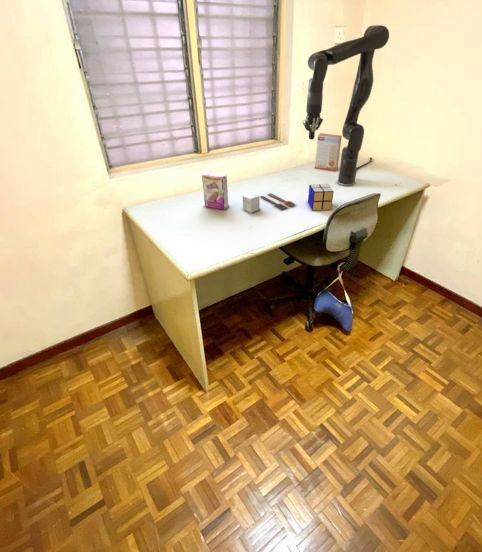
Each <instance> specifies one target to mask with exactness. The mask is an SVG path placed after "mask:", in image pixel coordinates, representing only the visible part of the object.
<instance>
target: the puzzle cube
mask: <svg viewBox="0 0 482 552" xmlns="http://www.w3.org/2000/svg"><path fill="white" fill-rule="evenodd" d="M333 200H334V190H333V188H332V187H331V186H330V184H329V183H313V184H312V183H311V184H309V185H308V197H307V204H308V205H309V207H310V210H311V211H331V210H332V208H333Z"/></svg>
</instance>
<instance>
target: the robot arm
mask: <svg viewBox="0 0 482 552" xmlns="http://www.w3.org/2000/svg"><path fill="white" fill-rule="evenodd" d="M389 39H390V30H389V28H387V26H385V25H382V24H372V25H369V26H368V27H366V29H365V31H364V33H363V36H361V37H358V38H355V39H352V40H350V39H349V40H347V41H343V42H340V43H338V44H336V45H334V46H331V47H330V48H326V49H322V50H319V51H315V52H314V53H312V54H311V55H310V56H309V57H308V60H307V66H308V68H309V70H310V71H313V73H312V77H310V78H309V80H308V87H307V88H308V90H307V97H306V109H305V112H306V117H305V119H304V120H302V124H303V127H304V128H305V130H306V131H308V139H309V140H314V139H315V136H316V135H315V134H316V131H318V130H319V128H320V127H321V125H322V123H323V122H324V118H322V117H321V113H322V110H323V109H322V108H323V98H324V96H323V95H324V82H325V79H326V76H327V72H328V67H329V66H334V65H337V64H339V63H342V62H344V61H346V60H348V59H351V58H353V57H356V56H358V55H359V61H358V66H357V71H356V75H355V79H354V84H353V88H352V91H351V98H350V102H349V104H348V105H349V106H348V109H347V114H346V117H345V120H344V122H343V125H342V131H341V132H342V133H341V134H342V135H341V136H342V137H343V138H344V139H345V140H347V146H343V148H342V150H341V156H340V157H341V158H340V163H339V165H340V166H339V170H338V171H339V172H338V177H337V178H338V179H337V184H338V185H340V186H344V187H350V186H354V184H355V183H356V176H357V170H359V169H360V168H362V167H364V166H366V165H369V164H370V163H371V162H372V160H373V159H372V158H371V157H370V158H369V159H370V160H369V161H368V162H366V163H364V164H361V165H359V166H358V160H359V153H360V152H361V149H362V145H363V141H364V136H365V128H364V126H363V125H362V124H361V123H358V120H359V116H360V113H361V111H362V110H363V108H364V106H365V105H366V104H367V102H368V101H369V99H370V97H371V94H372V90H373V85H374V70H373V69H374V68H373V67H374V66H373V61H374V55H375V52H376V50H380V49H382V48H384V47H385V46H386V45H387V44H388V42H389ZM357 166H358V167H357Z"/></svg>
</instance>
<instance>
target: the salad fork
mask: <svg viewBox="0 0 482 552" xmlns="http://www.w3.org/2000/svg"><path fill="white" fill-rule="evenodd" d="M260 198H261V199H262V200H264V201H266V202H268V203H270V204H272V205H273V207H274V208H277V209H278V210H281V211H284V210H287V209H288V206H286V205H284V204H282V203H277V202H275V201H273V200H271V199H269V198H268V197H266V196H264V195H261V196H260Z"/></svg>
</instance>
